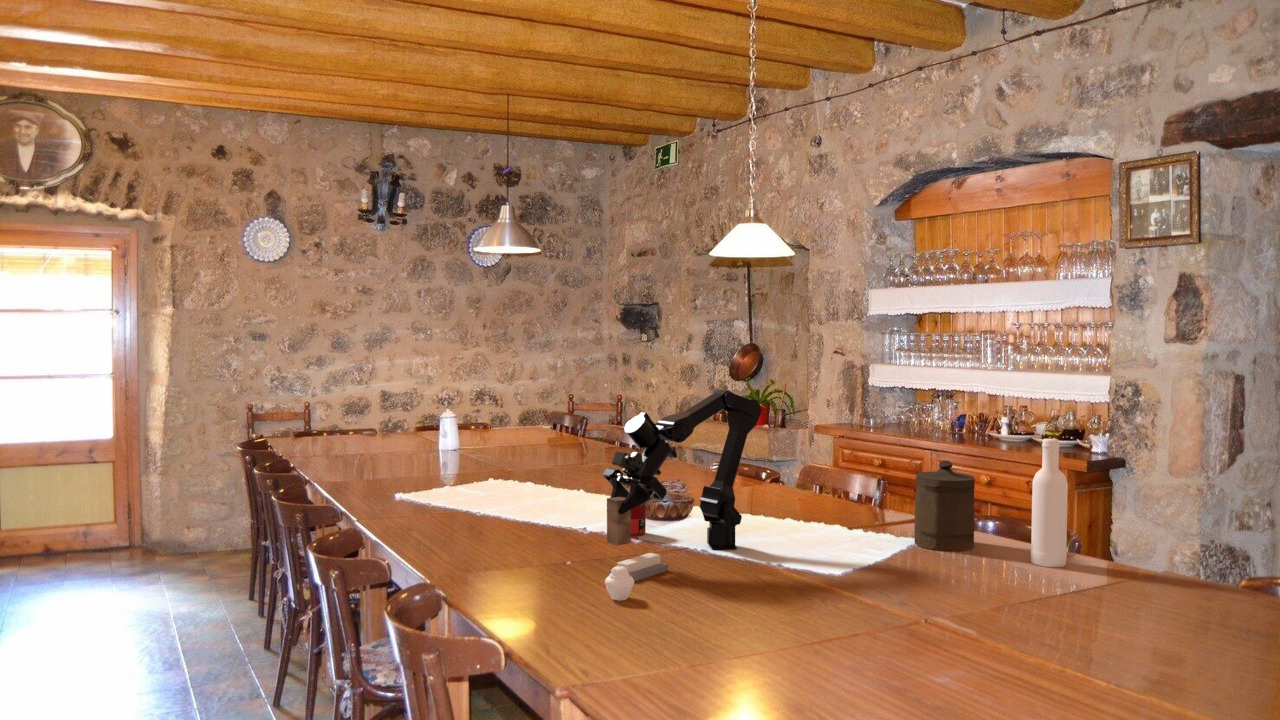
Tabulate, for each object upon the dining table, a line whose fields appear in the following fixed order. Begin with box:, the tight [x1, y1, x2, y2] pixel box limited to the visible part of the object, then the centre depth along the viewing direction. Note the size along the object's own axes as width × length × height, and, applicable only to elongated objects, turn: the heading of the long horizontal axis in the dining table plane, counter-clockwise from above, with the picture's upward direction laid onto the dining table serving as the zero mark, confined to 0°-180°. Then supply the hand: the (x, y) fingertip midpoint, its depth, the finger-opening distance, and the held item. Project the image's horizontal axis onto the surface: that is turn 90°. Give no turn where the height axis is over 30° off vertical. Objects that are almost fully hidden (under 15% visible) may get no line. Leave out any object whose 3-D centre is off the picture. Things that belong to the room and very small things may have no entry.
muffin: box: [604, 565, 635, 602], centre depth 200 cm, size 6×6×7 cm
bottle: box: [1030, 438, 1069, 568], centre depth 229 cm, size 8×8×30 cm
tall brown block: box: [606, 496, 632, 547], centre depth 225 cm, size 4×4×10 cm
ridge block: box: [608, 552, 669, 583], centre depth 220 cm, size 13×7×4 cm, turn 141°
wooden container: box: [914, 459, 976, 552], centre depth 249 cm, size 15×15×22 cm
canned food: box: [627, 490, 647, 538], centre depth 261 cm, size 8×8×11 cm
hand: (614, 511), depth 224 cm, fingers closed on tall brown block, 4 cm apart
